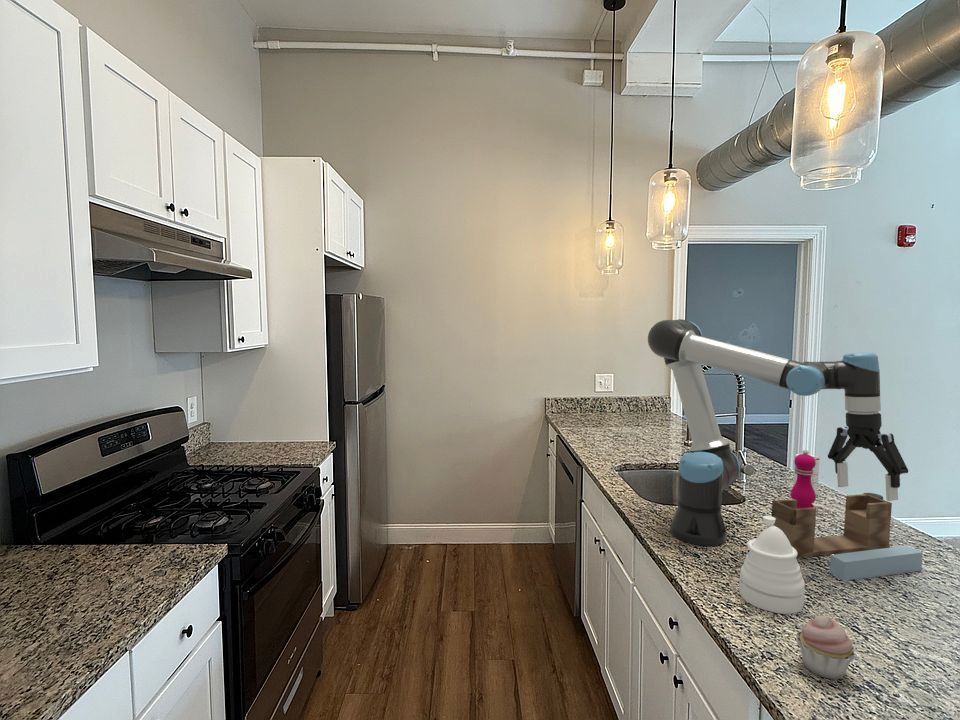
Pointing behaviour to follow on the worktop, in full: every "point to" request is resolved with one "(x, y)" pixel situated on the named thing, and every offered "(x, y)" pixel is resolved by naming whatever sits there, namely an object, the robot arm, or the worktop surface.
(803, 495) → the pepper mill
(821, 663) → the cupcake
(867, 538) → the bracket
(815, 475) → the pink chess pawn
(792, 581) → the honey pot
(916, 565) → the rail
